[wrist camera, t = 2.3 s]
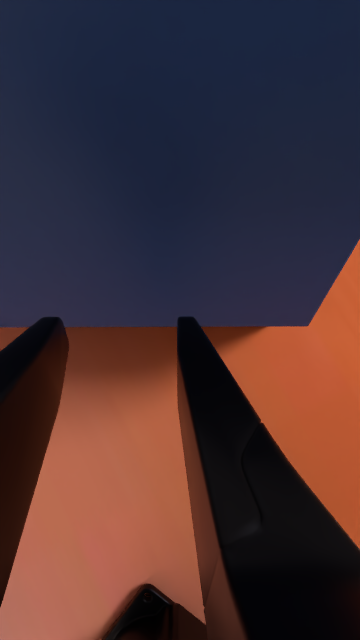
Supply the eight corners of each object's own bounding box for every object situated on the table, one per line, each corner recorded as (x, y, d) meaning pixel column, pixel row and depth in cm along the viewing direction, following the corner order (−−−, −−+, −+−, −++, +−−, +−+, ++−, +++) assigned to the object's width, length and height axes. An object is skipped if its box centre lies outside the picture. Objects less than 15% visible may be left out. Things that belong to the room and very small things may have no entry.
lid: (-374, -113, 5) (-416, -106, 5) (539, -112, 5) (567, -104, 5) (-13, 315, 16) (-17, 328, 15) (305, 314, 16) (308, 327, 15)
